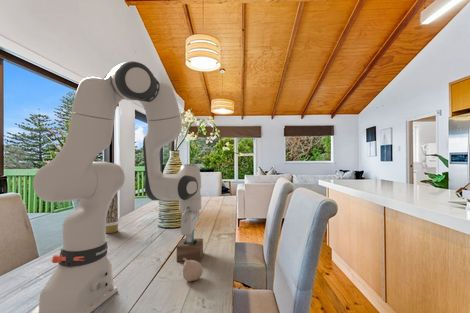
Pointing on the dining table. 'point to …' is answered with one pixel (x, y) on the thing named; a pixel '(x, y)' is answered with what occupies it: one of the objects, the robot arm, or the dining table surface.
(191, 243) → the peg
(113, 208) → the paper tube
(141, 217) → the dining table surface
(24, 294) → the dining table surface
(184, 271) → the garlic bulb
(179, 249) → the socket block
